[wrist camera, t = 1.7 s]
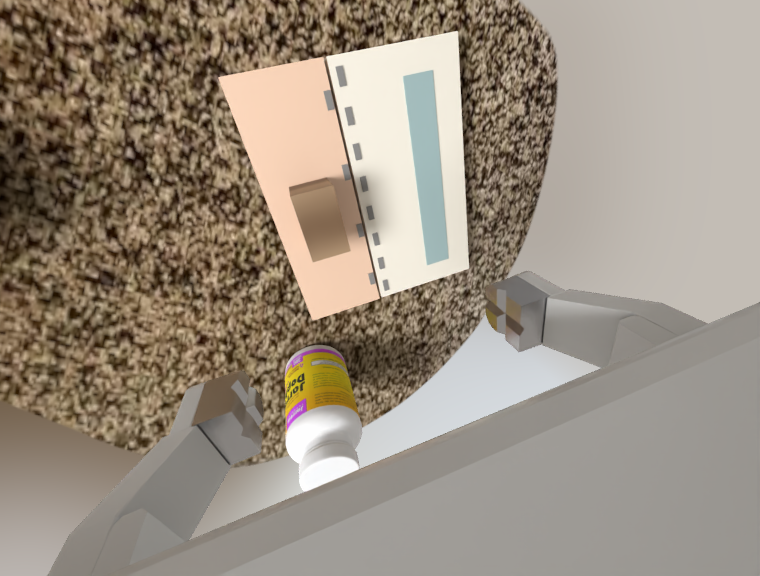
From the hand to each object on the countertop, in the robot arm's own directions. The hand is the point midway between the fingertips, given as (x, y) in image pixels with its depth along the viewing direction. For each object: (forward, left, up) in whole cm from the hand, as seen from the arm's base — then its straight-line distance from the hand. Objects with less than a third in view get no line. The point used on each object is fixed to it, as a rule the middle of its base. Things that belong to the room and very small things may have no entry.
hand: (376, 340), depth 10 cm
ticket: (0, +9, -20) cm, 21 cm away
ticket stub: (0, 0, -19) cm, 19 cm away
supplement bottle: (+17, -5, -20) cm, 27 cm away
